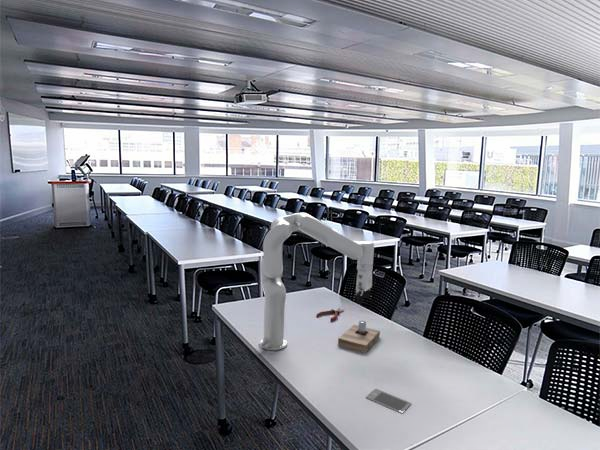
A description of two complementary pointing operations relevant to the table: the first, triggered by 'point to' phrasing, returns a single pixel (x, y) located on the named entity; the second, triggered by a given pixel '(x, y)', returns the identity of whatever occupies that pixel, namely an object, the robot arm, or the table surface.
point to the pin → (362, 328)
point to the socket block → (358, 339)
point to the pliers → (336, 312)
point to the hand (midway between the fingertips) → (362, 300)
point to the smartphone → (388, 400)
